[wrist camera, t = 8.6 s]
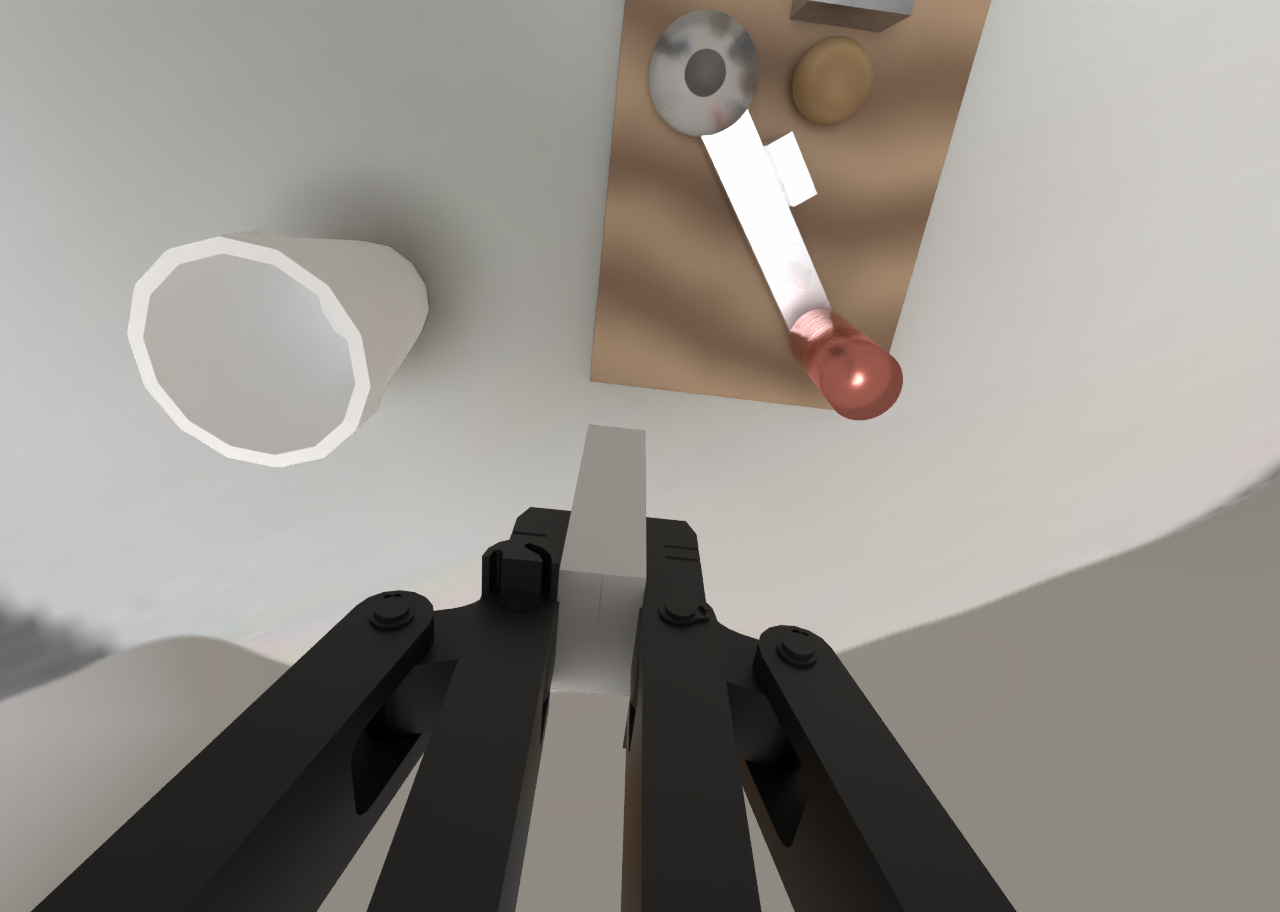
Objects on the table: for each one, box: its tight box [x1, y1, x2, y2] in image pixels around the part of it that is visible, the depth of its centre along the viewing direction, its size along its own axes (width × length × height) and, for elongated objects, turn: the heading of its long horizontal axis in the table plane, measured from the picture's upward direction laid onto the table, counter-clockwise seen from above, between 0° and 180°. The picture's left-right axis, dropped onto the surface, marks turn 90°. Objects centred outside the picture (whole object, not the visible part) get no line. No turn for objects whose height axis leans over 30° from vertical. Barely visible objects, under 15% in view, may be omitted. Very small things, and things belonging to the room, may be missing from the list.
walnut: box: [792, 36, 873, 125], centre depth 30 cm, size 4×4×4 cm
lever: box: [649, 10, 903, 420], centre depth 29 cm, size 18×5×10 cm, turn 29°
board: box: [590, 0, 991, 410], centre depth 33 cm, size 22×17×5 cm
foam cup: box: [127, 230, 429, 468], centre depth 32 cm, size 10×9×13 cm
